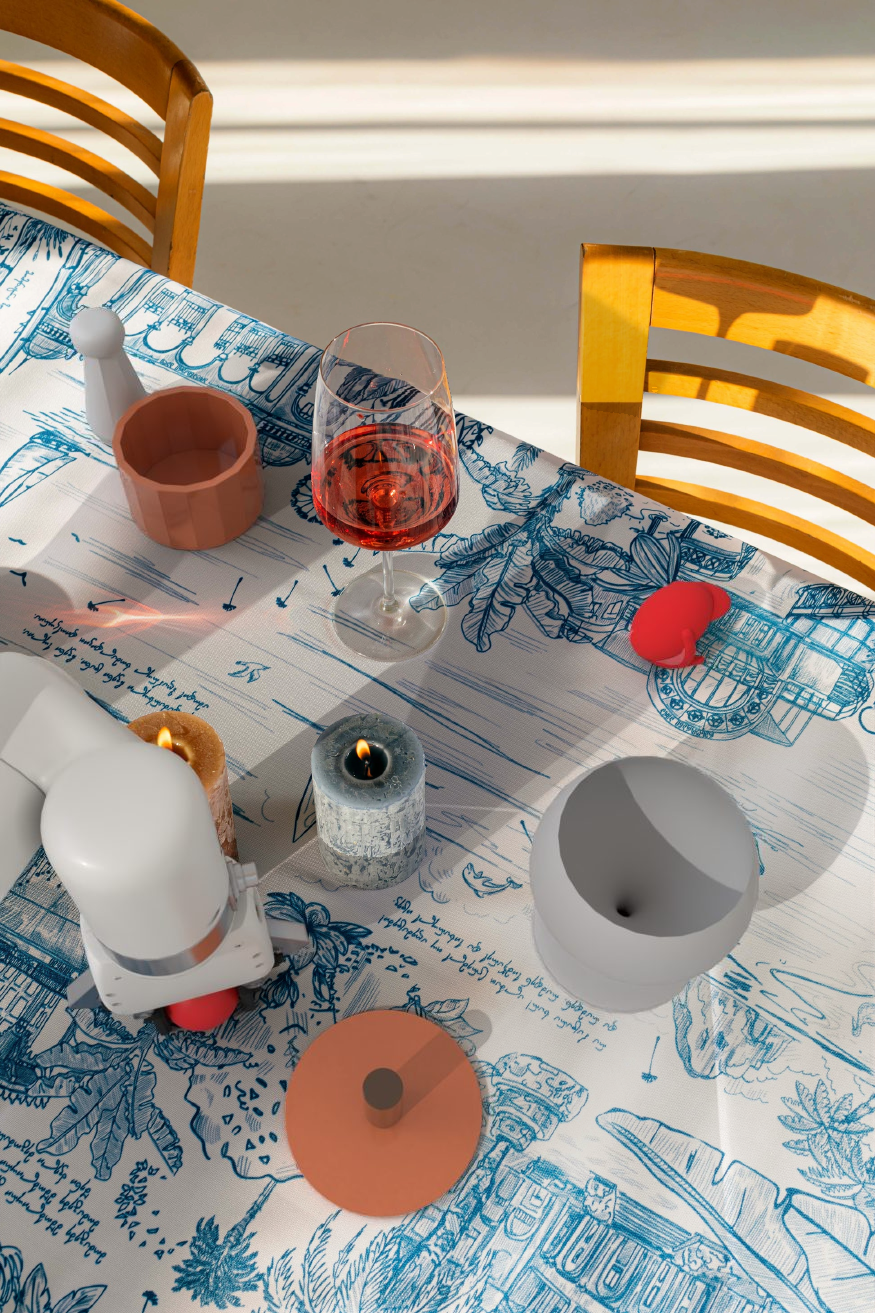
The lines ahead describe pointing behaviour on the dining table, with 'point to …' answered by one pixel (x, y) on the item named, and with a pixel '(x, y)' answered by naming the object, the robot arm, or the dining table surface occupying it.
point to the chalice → (639, 882)
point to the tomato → (204, 1010)
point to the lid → (383, 1113)
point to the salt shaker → (105, 369)
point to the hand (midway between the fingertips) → (204, 999)
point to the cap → (676, 622)
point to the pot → (190, 466)
